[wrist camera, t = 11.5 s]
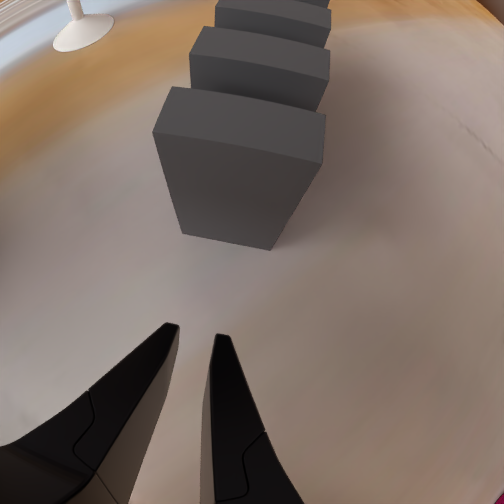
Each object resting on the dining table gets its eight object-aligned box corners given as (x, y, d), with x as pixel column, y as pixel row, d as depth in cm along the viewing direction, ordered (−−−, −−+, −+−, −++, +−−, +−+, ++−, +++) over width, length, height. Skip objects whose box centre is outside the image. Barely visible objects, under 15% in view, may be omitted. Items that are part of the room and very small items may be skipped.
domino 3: (269, 250, 19) (322, 164, 9) (182, 233, 19) (152, 132, 9) (275, 219, 19) (325, 114, 10) (190, 202, 19) (171, 86, 9)
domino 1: (288, 144, 21) (330, 28, 11) (212, 128, 21) (215, 6, 11) (291, 122, 21) (331, 9, 12) (219, 107, 21) (225, -11, 12)
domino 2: (280, 192, 20) (328, 80, 10) (198, 176, 20) (189, 53, 10) (284, 166, 20) (330, 50, 11) (206, 150, 20) (204, 26, 10)
